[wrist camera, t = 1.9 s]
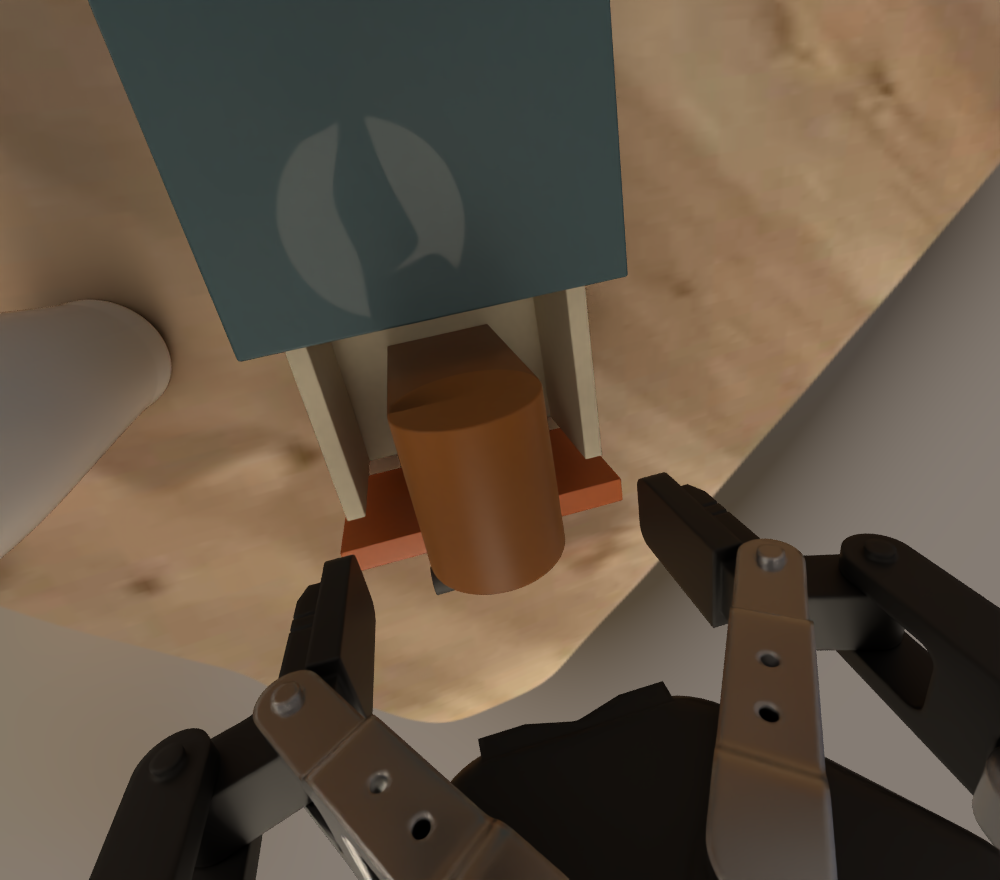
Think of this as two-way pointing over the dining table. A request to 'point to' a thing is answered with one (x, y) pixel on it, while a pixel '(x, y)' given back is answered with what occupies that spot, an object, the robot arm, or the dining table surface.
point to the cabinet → (377, 154)
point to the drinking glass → (67, 400)
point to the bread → (476, 459)
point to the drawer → (367, 436)
